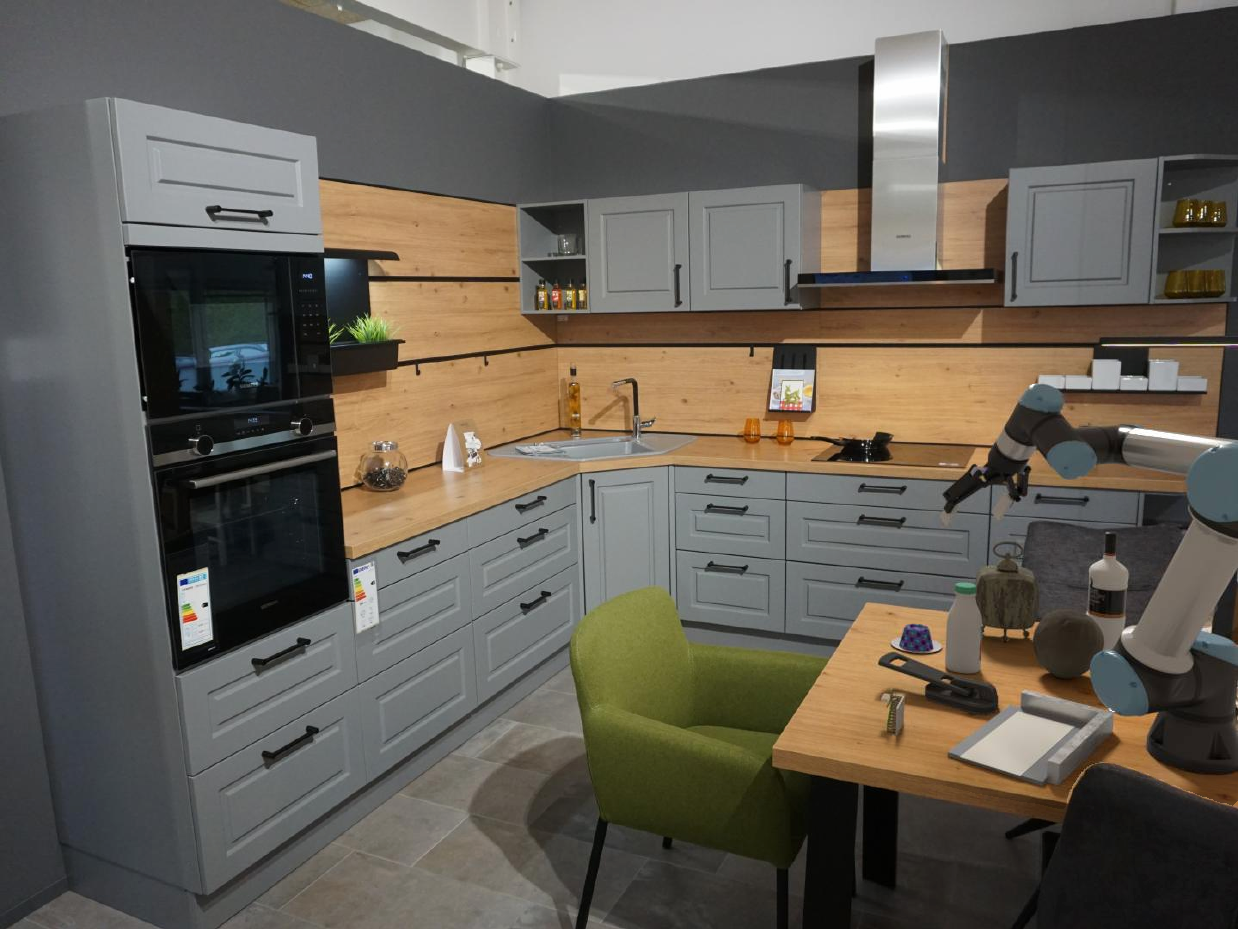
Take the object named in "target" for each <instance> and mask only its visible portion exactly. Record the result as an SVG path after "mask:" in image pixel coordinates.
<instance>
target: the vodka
mask: <svg viewBox="0 0 1238 929" xmlns="http://www.w3.org/2000/svg"><path fill="white" fill-rule="evenodd" d="M1117 540H1118V533H1117V532H1115V531H1106V532H1104V542H1103V543H1104V545H1103V556H1102V559H1100V560H1098V561H1097V562H1094V563H1093V564H1091V565H1090V567H1089V569H1088V573H1089V575H1088V594H1087V609H1086V613H1085V614H1086V615H1089V616H1090V617H1091V618H1092V619H1093V620H1094V621H1095V622H1096V623H1097V624H1098V626H1099V627H1100V629H1101V630H1102V633H1103V636H1104V648H1103V650H1107V649H1109V650H1111V649H1113V648H1114V647H1115V645H1116V643H1117V641H1118V639H1119V637H1120V635H1121V634H1122V632H1123V631H1124V629H1125V626H1126V625H1125V624H1126V619H1127V616H1126V607H1127V606H1126V605H1127V604H1126V603H1127V588H1128V586H1129V584H1128V583H1129V582H1128V581H1129V576H1130V575H1129V574H1130V573H1129V571H1128V569H1127V567H1126V566H1125V565H1123V564H1122V563H1120V562H1119V561H1118V560H1117V559H1116V557H1117V543H1118V542H1117Z"/></svg>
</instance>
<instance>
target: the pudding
mask: <svg viewBox="0 0 1238 929" xmlns="http://www.w3.org/2000/svg"><path fill="white" fill-rule="evenodd" d="M890 643H891V645H892V646H893V648H896V649H899V650H900V651H903V652H904V651H905V652H910V653H918V654H928V653H929V654H930V653H934V652H937V651H940V650H941V649H942V647H943V645H942V644H941V643H940V642H939V641H937V640H935V639H932V635H931V630H930V628H929V627H928V626H927V625H923V624H921V623H918V624H917V623H909V624H906V625H905V626H904V628H903V631H902V634H901V636H900V637H895V638H893V639H892V640H891V641H890Z"/></svg>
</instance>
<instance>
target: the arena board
mask: <svg viewBox="0 0 1238 929" xmlns="http://www.w3.org/2000/svg"><path fill="white" fill-rule="evenodd" d="M1084 726H1085V724H1081V723H1077V722H1074V721H1070V720H1066V719H1063V718H1059V717H1055V716H1051V715H1048V714H1044V713H1040V712H1036V711H1033V710H1029V709H1025V708H1021V706H1017V705H1013V704H1010V705H1008V706H1007V707H1006V708H1004V709H1002V711H1000V712H999V713H998V714H996V715H995V716H993V717H992V718H991V719H990V720H988V721H987V722H985V723H984V724H983V725H982V726H980V727H979V728H977V730H975V731H974V732H972V733H971V734H970V735H969V736H967V737H965V739H962V741H960V742H959V743H957V745H955V746H954V747H952V748H951V749H950V750H948V751H947V757H950V758H952V759H956V760H959V761H963V762H965V763H969V764H972V765H975V766H977V767H981V768H984V769H988V770H990V771H992V772H993V771H994V772H997V773H999V774H1003V775H1006V776H1009V777H1011V778H1012V777H1013V778H1015V779H1018V780H1021V781H1025V782H1027V783H1031V784H1034V785H1038V786H1040V787H1043V786H1044V785H1045V784H1046V783H1047V782H1046V778H1047V760H1049V759H1050V758H1051V757H1052V756H1053V755H1054V754H1055V753H1056V752H1057V751H1058V750H1059V749H1060V748H1062V747H1063V746H1064V745H1065V744H1066V743H1067V742H1068V741H1069V740H1070V739H1071V738H1072V737H1073V736H1075V735H1076V734H1077V733H1078V732H1079V731H1080V730H1081V729H1082V728H1083V727H1084Z"/></svg>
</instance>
